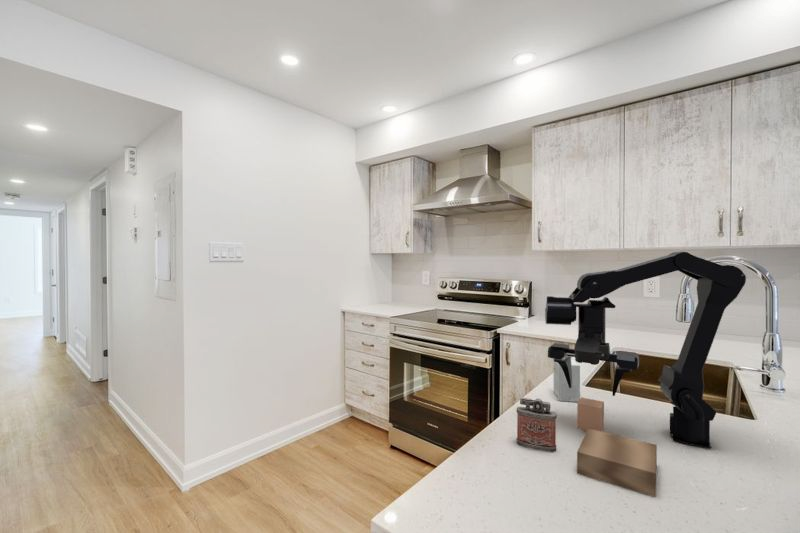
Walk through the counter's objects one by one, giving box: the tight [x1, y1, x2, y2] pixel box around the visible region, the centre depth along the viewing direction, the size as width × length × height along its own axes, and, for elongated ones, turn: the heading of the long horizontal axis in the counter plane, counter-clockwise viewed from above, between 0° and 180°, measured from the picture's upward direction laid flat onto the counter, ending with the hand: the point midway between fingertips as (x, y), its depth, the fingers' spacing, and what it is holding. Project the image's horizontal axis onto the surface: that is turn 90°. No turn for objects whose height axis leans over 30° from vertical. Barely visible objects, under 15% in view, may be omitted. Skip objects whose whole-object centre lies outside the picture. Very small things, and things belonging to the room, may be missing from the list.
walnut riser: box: [576, 429, 658, 498], centre depth 70 cm, size 12×12×4 cm
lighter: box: [515, 396, 558, 453], centre depth 79 cm, size 8×3×10 cm, turn 65°
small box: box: [552, 358, 581, 403], centre depth 107 cm, size 8×6×10 cm
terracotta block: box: [576, 396, 605, 432], centre depth 88 cm, size 5×5×6 cm
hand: (591, 391), depth 88 cm, fingers open, 9 cm apart
